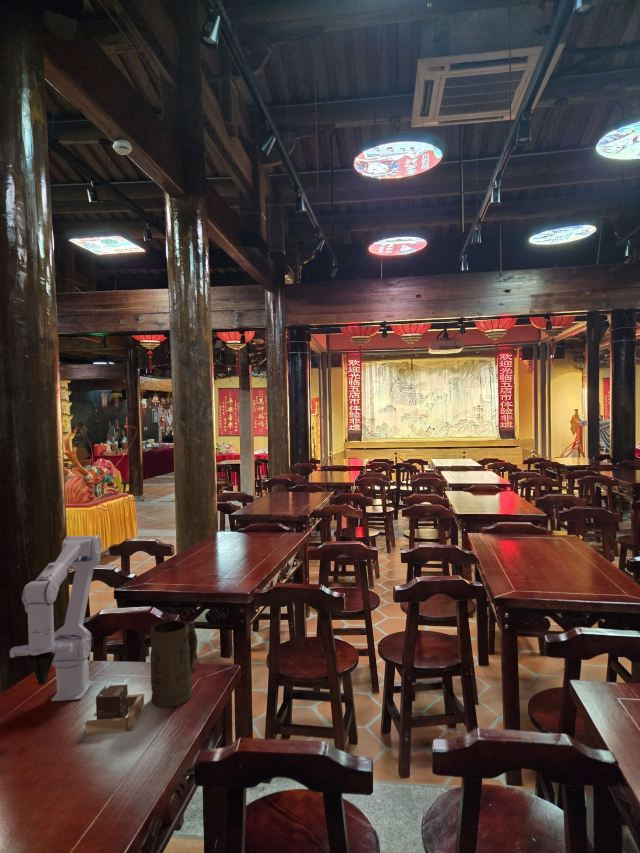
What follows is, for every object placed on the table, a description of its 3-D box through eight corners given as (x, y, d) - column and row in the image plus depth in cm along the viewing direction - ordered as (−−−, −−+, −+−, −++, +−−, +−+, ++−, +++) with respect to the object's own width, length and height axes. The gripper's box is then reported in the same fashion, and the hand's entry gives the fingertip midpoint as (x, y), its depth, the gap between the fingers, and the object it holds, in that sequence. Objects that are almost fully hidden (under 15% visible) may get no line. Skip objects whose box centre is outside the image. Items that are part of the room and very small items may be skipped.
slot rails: (103, 707, 140) (102, 696, 140) (144, 704, 141) (143, 693, 141) (85, 734, 127) (85, 723, 127) (130, 731, 128) (130, 719, 128)
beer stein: (174, 712, 136) (175, 633, 137) (141, 705, 140) (141, 628, 141) (207, 687, 151) (207, 616, 152) (175, 682, 154) (176, 612, 155)
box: (120, 725, 131) (119, 696, 131) (96, 726, 131) (94, 697, 131) (129, 712, 137) (128, 684, 137) (106, 713, 137) (104, 685, 137)
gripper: (3, 636, 128) (4, 692, 128) (64, 632, 130) (66, 687, 130) (16, 626, 135) (18, 679, 135) (75, 622, 137) (77, 674, 137)
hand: (42, 682), depth 133 cm, fingers closed
